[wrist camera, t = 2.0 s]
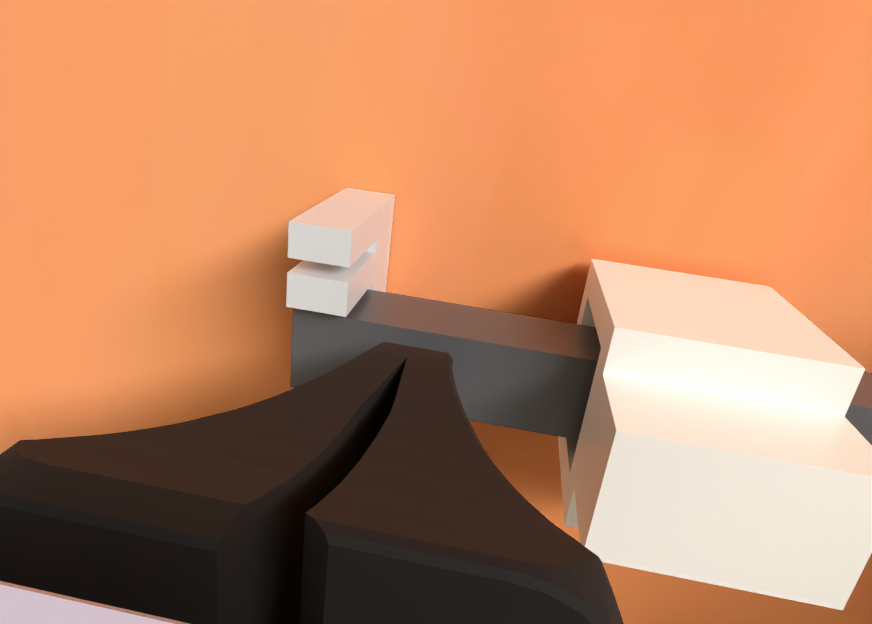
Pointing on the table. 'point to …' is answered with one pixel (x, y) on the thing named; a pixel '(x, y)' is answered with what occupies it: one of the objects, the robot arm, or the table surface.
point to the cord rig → (441, 326)
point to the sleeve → (718, 439)
